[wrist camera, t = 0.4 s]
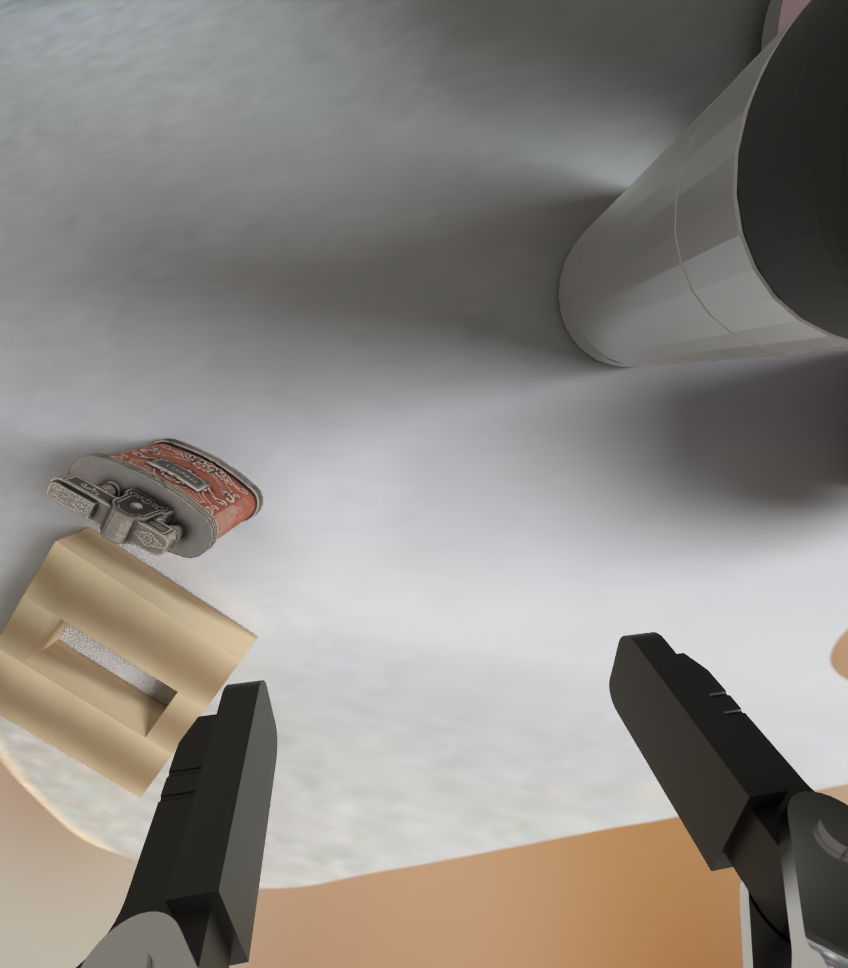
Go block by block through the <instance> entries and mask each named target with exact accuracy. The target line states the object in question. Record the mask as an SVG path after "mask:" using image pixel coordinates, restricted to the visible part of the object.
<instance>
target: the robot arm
mask: <svg viewBox="0 0 848 968" xmlns="http://www.w3.org/2000/svg"><path fill="white" fill-rule="evenodd" d="M558 298H559V305H560V313H561V316H562V319H563V322H564V325H565V327H566V329H567V331H568V333H569V334H570V336H571V338H572V339H573V341H574V342H575V343H576V344H577V345H578V346H579V347H580V348H581V349H582V350H583V351H584V352H585V353H586V354H588V355H590V356H591V357H593V358H594V359H596V360H597V361H600V362H603V363H606V364H609V365H612V366H620V367H638V366H651V365H667V364H679V363H691V362H703V361H715V360H727V359H739V358H751V357H763V356H776V355H788V354H800V353H812V352H820V351H832V350H843V349H848V0H811V1H810V2H809V3H808V4H807V5H806V6H805V7H804V8H803V9H802V10H801V11H800V12H799V13H798V14H797V15H796V17H795V18H794V19H793V20H792V21H791V22H790V23H789V24H788V25H787V26H786V27H785V28H784V29H783V30H782V31H781V32H780V33H779V34H778V35H777V36H776V37H775V38H774V39H773V40H772V41H771V42H770V43H769V44H768V45H767V46H766V47H765V48H764V49H763V50H762V51H761V52H760V53H759V54H758V55H757V56H756V57H755V58H754V59H753V60H752V61H751V62H750V63H749V64H748V65H747V67H746V68H745V69H744V70H743V71H742V72H741V73H740V74H739V75H738V76H737V77H736V78H735V79H734V80H733V82H732V83H731V84H730V85H729V86H728V87H727V88H726V89H725V90H724V91H723V92H722V93H721V94H720V95H719V96H718V97H717V98H716V99H715V100H714V101H713V102H712V103H711V104H710V105H709V106H708V107H707V108H706V109H705V110H704V111H703V112H702V113H701V114H700V115H699V116H698V117H697V118H696V119H695V120H694V121H693V122H692V123H691V124H690V125H689V126H688V127H687V128H686V129H685V130H684V131H683V132H682V133H681V134H680V135H679V136H678V137H677V138H676V139H675V141H674V142H673V143H672V144H671V145H670V146H669V147H668V148H667V149H666V150H665V151H664V152H663V153H662V154H661V155H660V156H659V157H658V158H657V159H656V160H655V161H654V162H653V163H652V164H651V165H650V166H649V167H648V168H647V169H646V170H645V171H644V172H643V173H642V174H641V175H640V176H639V177H638V178H637V179H636V180H635V181H634V182H633V183H632V184H631V185H630V186H629V187H628V188H627V189H626V190H625V191H624V192H623V193H622V194H621V195H620V196H619V197H618V198H617V199H616V201H614V202H613V203H612V204H611V205H610V206H609V207H608V208H607V209H606V210H605V211H604V212H603V213H602V214H601V215H600V216H599V217H598V218H597V219H596V220H595V221H594V222H593V223H592V224H591V225H590V227H589V228H588V229H587V230H586V231H585V232H584V233H583V234H582V235H581V236H580V238H579V239H578V240H577V242H576V243H575V244H574V246H573V247H572V249H571V251H570V253H569V255H568V257H567V259H566V261H565V263H564V266H563V270H562V273H561V277H560V282H559V296H558ZM609 687H610V694H611V698H612V701H613V704H614V706H615V709H616V710H617V712H618V714H619V716H620V717H621V719H622V721H623V722H624V724H625V726H626V727H627V729H628V731H629V733H630V734H631V736H632V738H633V739H634V741H635V743H636V744H637V746H638V748H639V749H640V751H641V753H642V755H643V756H644V758H645V760H646V761H647V763H648V765H649V766H650V768H651V770H652V771H653V773H654V775H655V777H656V778H657V780H658V782H659V783H660V785H661V787H662V788H663V790H664V792H665V793H666V795H667V797H668V799H669V800H670V802H671V804H672V805H673V807H674V809H675V810H676V812H677V814H678V815H679V817H680V819H681V820H682V822H683V824H684V826H685V827H686V829H687V831H688V832H689V834H690V836H691V837H692V839H693V841H694V842H695V844H696V846H697V847H698V849H699V851H700V852H701V854H702V856H703V858H704V859H705V861H706V863H707V864H708V866H709V868H710V870H711V871H714V870H719V869H724V868H729V867H734V869H735V870H736V872H737V874H738V875H739V877H740V878H741V880H742V883H741V886H740V911H741V931H742V951H743V968H848V805H846V804H845V803H843V802H841V801H839V800H837V799H835V798H833V797H831V796H828V795H825V794H822V793H817V792H814V791H813V790H812V789H811V788H810V787H809V786H808V785H807V784H806V783H805V782H804V781H803V779H802V778H801V777H800V776H799V775H798V774H797V772H796V771H795V770H794V769H793V768H792V767H791V766H790V764H789V763H788V762H787V761H786V760H785V759H784V758H783V756H782V755H781V754H780V753H779V752H778V751H777V749H776V748H775V747H774V746H773V745H772V744H771V743H770V741H769V740H768V739H767V738H766V737H765V736H764V734H763V733H762V732H761V731H760V730H759V729H758V728H757V726H756V725H755V724H754V723H753V722H752V721H751V719H750V718H749V717H748V716H747V715H746V714H745V713H742V711H741V708H740V707H739V706H738V704H737V703H736V702H735V701H734V700H733V699H732V698H731V696H730V695H727V694H726V691H725V689H724V688H723V687H722V686H721V685H720V684H719V683H718V681H717V680H716V679H715V678H714V677H713V676H712V674H711V673H710V672H709V671H708V670H707V669H705V668H704V667H703V666H701V665H700V664H698V663H697V662H696V661H694V660H693V659H691V658H690V657H689V656H687V655H686V654H684V653H681V654H676V653H675V652H674V650H673V649H672V648H671V647H670V646H669V644H668V643H667V642H666V641H665V639H664V638H663V637H662V636H661V635H659V634H658V633H655V632H651V633H643V634H635V635H628V636H623V637H621V639H620V641H619V644H618V648H617V652H616V656H615V661H614V665H613V669H612V673H611V677H610V682H609ZM276 757H277V730H276V724H275V720H274V716H273V711H272V707H271V703H270V698H269V694H268V690H267V686H266V683H265V681H264V680H262V681H254V682H246V683H238V684H230V685H227V686H226V687H225V688H224V691H223V693H222V697H221V700H220V704H219V708H218V711H217V714H216V715H208V716H201V717H198V718H197V719H196V720H195V722H194V723H193V724H192V726H191V727H190V728H189V730H188V731H187V732H186V734H185V735H184V736H183V738H182V739H181V740H180V742H179V744H178V747H177V750H176V753H175V755H174V758H173V761H172V764H171V767H170V770H169V777H167V779H166V782H165V785H164V788H163V791H162V794H161V801H160V802H158V805H157V808H156V811H155V814H154V817H153V820H152V823H151V826H150V829H149V832H148V835H147V838H146V841H145V844H144V846H143V849H142V852H141V855H140V858H139V861H138V864H137V867H136V870H135V873H134V876H133V879H132V882H131V885H130V888H129V891H128V893H127V897H126V899H125V902H124V904H123V907H122V909H121V911H120V913H119V915H118V917H117V919H116V921H115V923H114V924H113V926H112V928H111V929H110V931H109V932H108V934H107V935H106V936H105V937H104V938H103V939H102V940H101V941H100V942H99V943H98V944H97V945H96V947H95V948H94V949H93V950H92V951H91V953H90V954H89V955H88V957H87V958H86V959H85V960H84V961H83V962H82V963H81V964H80V965H79V966H78V967H76V968H229V966H230V965H235V964H240V963H245V962H248V961H249V954H250V946H251V939H252V932H253V925H254V918H255V910H256V903H257V896H258V889H259V881H260V874H261V867H262V859H263V852H264V845H265V838H266V830H267V823H268V816H269V808H270V801H271V794H272V787H273V779H274V772H275V765H276Z"/></svg>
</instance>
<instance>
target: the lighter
mask: <svg viewBox="0 0 848 968" xmlns="http://www.w3.org/2000/svg"><path fill="white" fill-rule="evenodd" d="M47 495H48V497H50V498H51V499H52V500H54V501H56V502H57V503H59V504H61V505H63V506H65V507H66V508H68V509H70V510H72V511H74V512H76V513H77V514H79V515H81V516H83V517H85V518H87V519H88V520H90V521H92V522H94V523H96V524H97V525H99V526H100V529H101V535H102V536H103V538H105V539H107V540H109V541H111V542H113V543H117V544H129V545H136V546H138V547H139V548H141V549H143V550H145V551H147V552H149V553H150V554H153V555H155V556H160V555H162V554H164V553H165V552H167V551H168V552H171V553H173V554H176V555H179V556H182V557H187V558H194V557H198V556H200V555H201V554H203V553H204V552H206V551H207V550H209V549H210V548H211V547H212V546H213V545H214V543H215V542H216V540H217V539H218V538H220V537H221V536H223V535H224V534H225V533H227V532H228V531H230V530H231V529H232V528H234V527H235V526H237V525H238V524H239V523H241V522H244V521H248V520H249V519H251V518H252V517H254V516H255V515H256V514H258V512H259V511H260V510H261V508H262V505H263V495H262V492H261V490H260V489H259V488H258V487H257V486H256V485H255V484H254V483H252V482H251V481H250V480H249V479H248V478H246V477H245V476H244V475H243V474H242V473H240V472H239V471H238V470H236V469H235V468H233V467H232V466H230V465H229V464H227V463H226V462H224V461H223V460H221V459H220V458H218V457H216V456H214V455H212V454H210V453H208V452H206V451H204V450H202V449H199V448H197V447H195V446H192V445H189V444H186V443H184V442H181V441H178V440H175V439H166V440H161V441H157V442H155V443H153V444H152V445H151V446H147V447H142V448H138V449H133V450H128V451H124V452H119V453H115V454H110V455H106V454H99V453H98V454H93V455H88V456H84V457H80V458H79V459H77V460H76V461H75V462H74V463H73V464H72V466H71V467H70V469H69V473H68V475H64V476H60V477H56V478H53V479H52V480H51V481H50V483H49V485H48V488H47Z"/></svg>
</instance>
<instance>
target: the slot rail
mask: <svg viewBox="0 0 848 968" xmlns="http://www.w3.org/2000/svg"><path fill="white" fill-rule="evenodd" d="M67 624H70V625H71V626H73V627H75V628H76V629H78V630H79V631H81V632H83V633H84V634H86V635H87V636H89V637H91V638H92V639H94V640H95V641H97V642H99V643H100V644H102V645H103V646H105V647H107V648H108V649H110V650H111V651H113V652H115V653H116V654H118V655H119V656H121V657H123V658H124V659H126V660H127V661H129V662H131V663H132V664H134V665H135V666H137V667H139V668H140V669H142V670H143V671H145V672H147V673H148V674H150V675H151V676H153V677H155V678H156V679H158V680H159V681H161V682H163V683H164V684H166V685H167V686H169V687H171V688H172V689H174V690H175V691H177V694H176V695H175V697H174V698H173V699H172V701H171V702H170V704H169V705H168V706H167V707H166V706H164V705H163V704H161V703H160V702H158V701H156V700H155V699H153V698H152V697H150V696H148V695H147V694H145V693H143V692H142V691H140V690H139V689H137V688H135V687H134V686H132V685H131V684H129V683H127V682H126V681H124V680H122V679H121V678H119V677H118V676H116V675H114V674H113V673H111V672H109V671H108V670H106V669H105V668H103V667H101V666H100V665H98V664H97V663H95V662H93V661H92V660H90V659H88V658H87V657H85V656H84V655H82V654H80V653H79V652H77V651H76V650H74V649H72V648H71V647H69V646H67V645H66V644H64V643H63V642H61V641H59V640H58V639H59V637H60V636H61V634H62V632H63V631H64V629H65V628H66V626H67ZM256 638H257V636H256V635H254V634H253V633H251V632H250V631H248V630H247V629H245V628H244V627H242V626H240V625H239V624H237V623H236V622H234V621H233V620H231V619H230V618H228V617H227V616H225V615H224V614H222V613H221V612H219V611H217V610H216V609H214V608H213V607H211V606H210V605H208V604H207V603H205V602H204V601H202V600H201V599H199V598H198V597H196V596H195V595H193V594H191V593H190V592H188V591H187V590H185V589H184V588H182V587H181V586H179V585H178V584H176V583H175V582H173V581H172V580H170V579H169V578H167V577H165V576H164V575H162V574H161V573H159V572H158V571H156V570H155V569H153V568H152V567H150V566H149V565H147V564H146V563H144V562H143V561H141V560H139V559H138V558H136V557H135V556H133V555H132V554H130V553H129V552H127V551H126V550H124V549H123V548H121V547H120V546H118V545H116V544H115V543H113V542H111V541H109V540H107V539H105V538H103V536H102V535H101V534H100V533H98V532H97V531H95V530H94V529H92V528H90V527H88V528H86V529H84V530H81V531H79V532H76V533H74V534H71V535H69V536H67V537H64V538H62V539H59V540H57V541H55V543H54V544H53V546H52V548H51V549H50V551H49V553H48V555H47V556H46V558H45V560H44V561H43V563H42V565H41V566H40V568H39V570H38V571H37V573H36V575H35V577H34V578H33V580H32V582H31V583H30V585H29V587H28V588H27V590H26V592H25V594H24V595H23V597H22V599H21V600H20V602H19V604H18V605H17V607H16V609H15V611H14V612H13V614H12V616H11V617H10V619H9V621H8V622H7V624H6V626H5V627H4V629H3V631H2V633H1V634H0V715H1V716H3V717H4V718H6V719H8V720H9V721H11V722H13V723H14V724H16V725H18V726H20V727H21V728H23V729H25V730H26V731H28V732H30V733H31V734H33V735H35V736H36V737H38V738H40V739H42V740H43V741H45V742H47V743H48V744H50V745H52V746H53V747H55V748H57V749H58V750H60V751H62V752H64V753H65V754H67V755H69V756H70V757H72V758H74V759H75V760H77V761H79V762H81V763H82V764H84V765H86V766H87V767H89V768H91V769H92V770H94V771H96V772H97V773H99V774H101V775H103V776H104V777H106V778H108V779H109V780H111V781H113V782H114V783H116V784H118V785H119V786H121V787H123V788H125V789H126V790H128V791H130V792H131V793H133V794H135V795H136V796H138V797H140V798H141V796H142V795H143V793H144V792H145V791H146V789H147V788H148V787H149V785H150V784H151V783H152V781H153V780H154V778H155V777H156V776H157V774H158V773H159V772H160V770H161V769H162V767H163V766H164V765H165V763H166V762H167V761H168V759H169V758H170V757H171V755H172V754H173V752H174V751H175V750H176V748H177V747H178V744H179V742H180V740H181V739H182V738H183V736H184V735H185V734H186V732H187V731H188V730H189V728H190V727H191V726H192V724H193V723H194V722H195V720H196V719H197V718H198V717H200V716H201V714H202V713H203V712H204V710H205V709H206V707H207V706H208V705H209V703H210V702H211V701H212V699H213V698H214V696H215V695H216V694H217V692H218V691H219V690H220V688H221V687H222V686H223V684H224V683H225V681H226V680H227V679H228V677H229V676H230V675H231V673H232V672H233V671H234V669H235V668H236V666H237V665H238V664H239V662H240V661H241V660H242V658H243V657H244V655H245V654H246V652H247V651H248V650H249V648H250V647H251V645H252V644H253V643H254V641H255V640H256Z"/></svg>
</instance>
